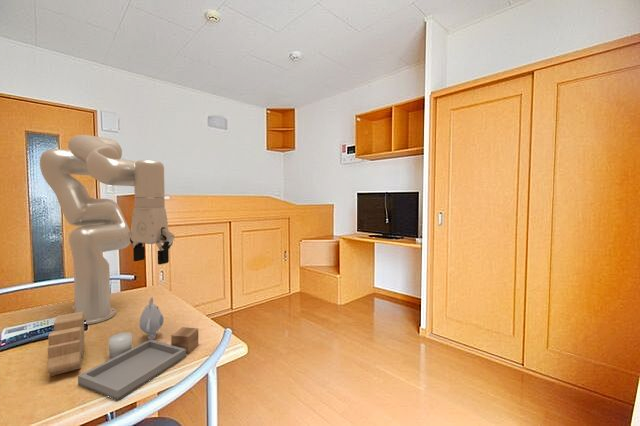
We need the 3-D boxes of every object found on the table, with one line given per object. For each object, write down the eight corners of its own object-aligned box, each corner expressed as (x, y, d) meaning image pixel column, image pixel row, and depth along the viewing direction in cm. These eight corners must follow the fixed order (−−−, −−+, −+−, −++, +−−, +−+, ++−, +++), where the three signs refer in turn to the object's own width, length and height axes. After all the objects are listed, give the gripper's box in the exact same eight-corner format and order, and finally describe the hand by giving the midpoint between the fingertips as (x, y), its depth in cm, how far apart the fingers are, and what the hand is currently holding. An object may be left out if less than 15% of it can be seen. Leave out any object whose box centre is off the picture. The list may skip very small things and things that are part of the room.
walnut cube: (171, 353, 80) (171, 335, 79) (182, 344, 84) (181, 327, 84) (188, 354, 79) (188, 336, 79) (198, 345, 84) (198, 328, 84)
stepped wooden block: (47, 383, 66) (46, 340, 65) (58, 350, 80) (57, 314, 79) (79, 375, 69) (78, 334, 68) (84, 344, 83) (83, 309, 82)
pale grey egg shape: (104, 357, 77) (104, 339, 76) (123, 348, 81) (123, 331, 81) (117, 362, 75) (117, 343, 74) (136, 352, 79) (136, 334, 79)
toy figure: (160, 344, 84) (159, 303, 83) (135, 347, 82) (134, 305, 81) (166, 328, 94) (165, 291, 93) (144, 330, 92) (143, 293, 91)
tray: (78, 385, 66) (77, 375, 65) (150, 346, 82) (150, 339, 82) (117, 401, 61) (117, 390, 61) (186, 357, 78) (186, 349, 77)
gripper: (116, 203, 85) (118, 261, 86) (160, 204, 79) (161, 267, 80) (140, 202, 92) (141, 256, 93) (183, 204, 85) (183, 262, 87)
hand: (151, 261), depth 86 cm, fingers open, 9 cm apart
